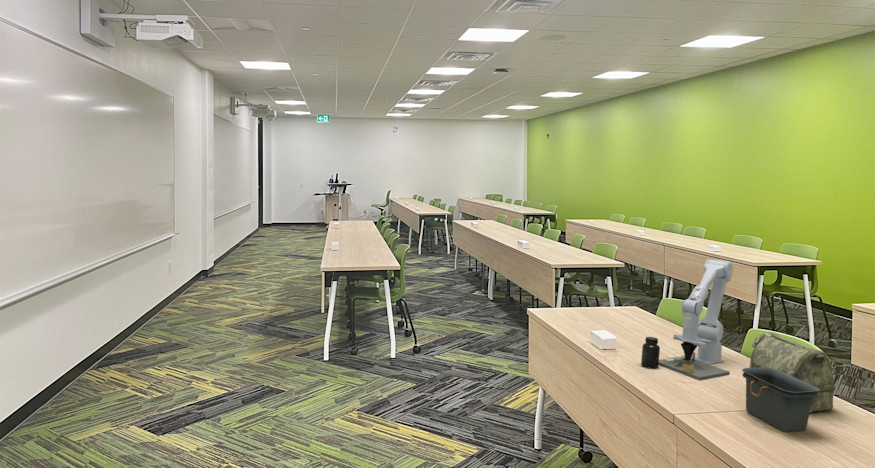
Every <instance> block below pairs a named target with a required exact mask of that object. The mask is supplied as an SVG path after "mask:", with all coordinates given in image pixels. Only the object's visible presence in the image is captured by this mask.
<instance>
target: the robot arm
mask: <svg viewBox="0 0 875 468" xmlns="http://www.w3.org/2000/svg"><path fill="white" fill-rule="evenodd" d="M703 270H704V273H703V275H702V278H701V281H700V283H699V285H696V286H694V288H693V290H692V292H691V293H690V295H689V297H688V298H687V299H684V300H683V302H682V304H681V311H682V317H683V321H682V322H683V323H682V334H673V336H672V339H673V340H677V341H680V342H681V343H680V345H681V348H682V350H683V352H684V355H685V361H690V360H691V356H692V354H693V352H694V353H695V351H696V349H697V356H695V360H697V361H700V362H703V363H706V364H709V365H711V364H718V363H721V362H723V361H724V360H722V353H723V352H722V350H723V346H722V343H721V342H720V341H722V339H723V337H724V325H723V324H722V323H721V322H720V321H719V315H720V313H721V312H720V311H721V307H722V303H723V298H724V294H725V290H726V286H727V283H729V282H730V281H731V279H732V274H733V271H734V269H733V264H732V262H731V261H730V260H728V261H727V260H726V261H725V260H720V259H719V260H718V259H711V258H707V259H706V260H705V262H704V265H703ZM710 287H711V290H710V291H711V292H710V291H709V290H708V289H709V288H710ZM709 293H710V295H709ZM708 295H709V299H708V304H707V308H706V311H705V316H704V317H703V318H700V314H702V312H703V309H704V306H705V305H704V304H705V303H704V302H705V300H706V299H707V297H708Z"/></svg>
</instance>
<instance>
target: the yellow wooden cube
mask: <svg viewBox="0 0 875 468" xmlns="http://www.w3.org/2000/svg"><path fill="white" fill-rule="evenodd" d="M682 371H685V372H687V373H692V372H694V364H691V363H683V370H682Z"/></svg>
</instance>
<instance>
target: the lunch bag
mask: <svg viewBox="0 0 875 468" xmlns="http://www.w3.org/2000/svg"><path fill="white" fill-rule="evenodd" d="M751 347H752V348H753V350H752V352H751V355H750V361H749V362H750V363H749V368H758V367H767V368H773V369H776V370H779V371H781V372H783V373H786V374H788V375H790V376H793V377H795V378H797V379H799V380H801V381H804V382H806V383H808V384H810V385H813V386H815V387H817V388H819V389H820V390H819V391H817V394H818V396H817V397H813V400H812V404H811V409H810V411H817V412H823V410H825V411H831V410H833V409H834V393H835V390H836V386H835V381H834V374H833V373H834V372H833V369H832V364H831V360H830V358H829V356H828V355H827V354H826V353H825V352H824V351H823V350H822V351H821V350H820V349H815V348H811V347H809V346H806V345H803V344H800V343H798V342H795V341H793V340H789V339H786V338H783V337H781V336H780V335H779V334H777V333H776V332H773V331H772V332H763V333H762V334H760V335H759V336H758V337H757V336H756V337H755V339H754V341H753V343H752V346H751ZM832 408H833V409H832ZM830 409H831V410H830Z"/></svg>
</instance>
